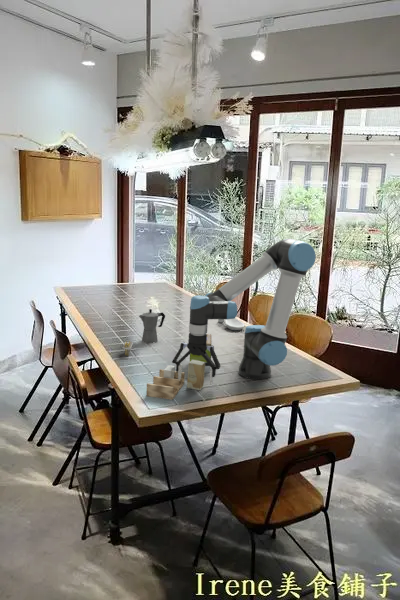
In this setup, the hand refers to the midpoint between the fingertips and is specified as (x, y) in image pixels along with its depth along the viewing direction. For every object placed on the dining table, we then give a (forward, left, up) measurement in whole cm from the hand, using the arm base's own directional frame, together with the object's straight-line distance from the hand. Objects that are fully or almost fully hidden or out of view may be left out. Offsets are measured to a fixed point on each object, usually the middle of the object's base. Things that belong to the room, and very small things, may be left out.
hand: (195, 381), depth 198 cm
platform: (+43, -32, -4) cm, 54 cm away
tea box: (+4, -26, -4) cm, 27 cm away
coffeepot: (+39, -57, -4) cm, 69 cm away
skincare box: (0, 0, -4) cm, 4 cm away
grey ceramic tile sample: (+11, +2, -3) cm, 11 cm away
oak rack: (+11, +6, -4) cm, 13 cm away
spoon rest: (+2, -103, -4) cm, 103 cm away
